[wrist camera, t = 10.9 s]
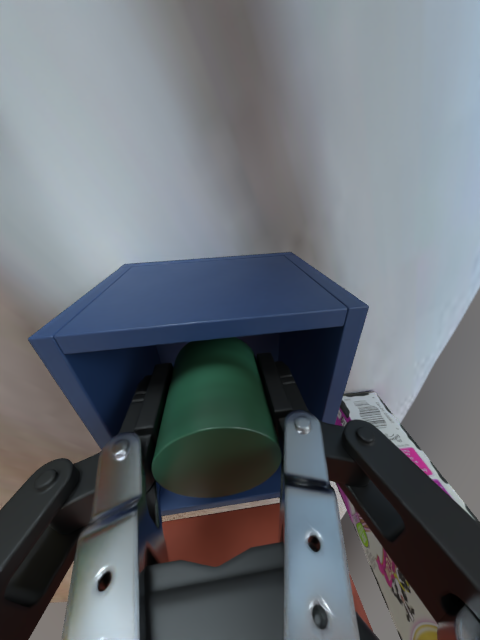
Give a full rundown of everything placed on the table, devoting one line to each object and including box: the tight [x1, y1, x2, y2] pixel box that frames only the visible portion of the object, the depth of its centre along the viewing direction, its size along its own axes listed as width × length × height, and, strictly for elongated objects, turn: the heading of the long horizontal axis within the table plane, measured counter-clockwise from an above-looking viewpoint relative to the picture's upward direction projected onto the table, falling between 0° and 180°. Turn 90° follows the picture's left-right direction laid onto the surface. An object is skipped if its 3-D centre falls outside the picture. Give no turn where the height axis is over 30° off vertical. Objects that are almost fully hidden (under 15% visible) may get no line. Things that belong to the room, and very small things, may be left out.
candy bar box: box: [335, 391, 480, 640], centre depth 20 cm, size 11×5×16 cm, turn 4°
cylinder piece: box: [152, 337, 282, 498], centre depth 9 cm, size 4×4×5 cm
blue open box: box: [28, 252, 369, 516], centre depth 15 cm, size 15×12×9 cm
